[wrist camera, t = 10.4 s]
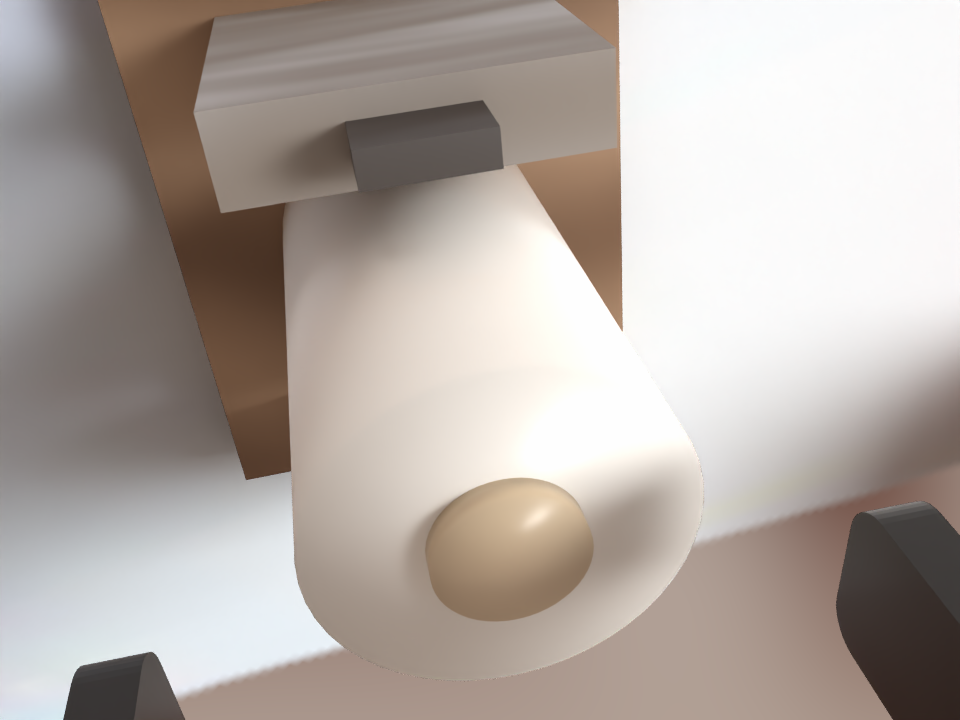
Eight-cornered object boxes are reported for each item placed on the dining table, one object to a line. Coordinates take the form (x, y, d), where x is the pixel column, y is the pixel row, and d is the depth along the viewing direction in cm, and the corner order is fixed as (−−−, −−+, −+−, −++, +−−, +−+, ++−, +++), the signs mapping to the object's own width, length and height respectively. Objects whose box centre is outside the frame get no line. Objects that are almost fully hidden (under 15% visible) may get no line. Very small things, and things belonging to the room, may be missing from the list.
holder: (103, -32, 18) (-5, 94, 11) (594, -99, 19) (791, -23, 12) (247, 444, 25) (238, 720, 17) (606, 375, 26) (738, 608, 19)
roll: (257, 129, 19) (250, 434, 10) (524, 90, 19) (729, 346, 11) (308, 357, 22) (335, 738, 13) (537, 317, 23) (704, 656, 14)
